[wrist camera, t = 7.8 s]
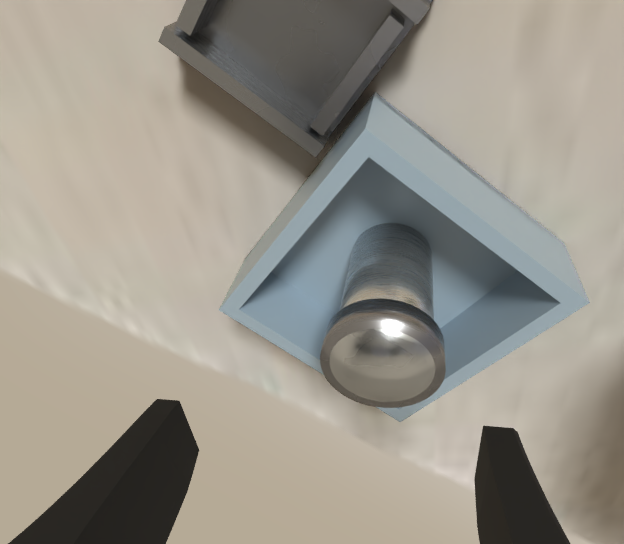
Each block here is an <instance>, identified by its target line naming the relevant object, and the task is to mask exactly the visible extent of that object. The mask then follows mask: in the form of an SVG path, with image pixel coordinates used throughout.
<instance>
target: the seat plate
mask: <svg viewBox="0 0 624 544" xmlns="http://www.w3.org/2000/svg"><path fill="white" fill-rule="evenodd" d="M432 1H433V0H186V2H185V4H184V7H183V9H182V11H181V13H180V16H179V18H178V20H177V22H175V23H172V24H170V25H168V26H166V27H164V30H163V32H162V34H161V37H160V39H159V41H158V42H160V43H161V44H162V45H164V46H165V47H167V48H168V49H169V50H171V51H172V52H173V53H175V54H176V55H177V56H179V57H180V58H181V59H183V60H184V61H185V62H187V63H188V64H190V65H191V66H192V67H194V68H195V69H196V70H198V71H199V72H200V73H202V74H203V75H204V76H206V77H207V78H208V79H210V80H211V81H213V82H214V83H215V84H217V85H218V86H219V87H221V88H222V89H223V90H225V91H226V92H227V93H229V94H230V95H232V96H233V97H234V98H236V99H237V100H238V101H240V102H241V103H242V104H244V105H245V106H246V107H248V108H249V109H250V110H252V111H253V112H255V113H256V114H257V115H259V116H260V117H261V118H263V119H264V120H265V121H267V122H268V123H269V124H271V125H272V126H274V127H275V128H276V129H278V130H279V131H280V132H282V133H283V134H284V135H286V136H287V137H288V138H290V139H291V140H292V141H294V142H295V143H297V144H298V145H299V146H301V147H302V148H303V149H305V150H306V151H307V152H309V153H310V154H311V155H313V156H314V157H315V158H316V157H317V155H318V154H319V153H320V151H321V150H322V149H323V147H324V146H325V144H326V141H327V139H328V137H329V136H330V135H331V133H332V132H333V131H334V129H335V128H336V127H337V125H338V124H339V123H340V122H341V120H342V119H343V118H344V116H345V115H346V114H347V112H348V111H349V110H350V108H351V107H352V106H353V104H354V103H355V102H356V101H357V99H358V98H359V97H360V95H361V94H362V93H363V91H364V90H365V89H366V87H367V86H368V85H369V83H370V82H371V81H372V79H373V78H374V77H375V76H376V74H377V73H378V72H379V70H380V69H381V68H382V66H383V65H384V64H385V62H386V61H387V60H388V58H389V57H390V56H391V55H392V53H393V52H394V51H395V49H396V48H397V47H398V45H399V44H400V43H401V41H402V40H403V39H404V37H405V36H406V35H407V34H408V32H409V31H410V30H411V28H412V27H413V26H414V24H416V25H418V23H419V22H420V21H421V19H422V18H423V17H424V15H425V14H426V13H427V11H428V10H429V9H430V3H431V2H432Z"/></svg>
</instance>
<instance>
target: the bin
mask: <svg viewBox="0 0 624 544" xmlns="http://www.w3.org/2000/svg"><path fill="white" fill-rule="evenodd" d="M383 223H399V224H403V225H407V226H409V227H412V228H414V229H415V230H417V231H418V232H420V233H421V234H422V235H423V236H424V237H425V238H426V240H427V241H428V243H429V245H430V247H431V251H432V268H433V305H434V321H435V322H436V323H437V325H438V326H439V328H440V330H441V332H442V334H443V338H444V346H445V366H446V372H445V377H444V380H443V382H442V384H441V386H440V387H439V389H438V390H437V391H436V392H435V393H434V394H433V395H431V396H430V397H429V398H427V399H425V400H423V401H421V402H419V403H416V404H414V405H410V406H405V407H399V408H381V407H376V408H378V409H380V410H381V411H383V412H385V413H386V414H388V415H389V416H391V417H393V418H394V419H396V420H398V421H399V422H401V421H403V420H404V419H406V418H408V417H409V416H411V415H412V414H414V413H416V412H417V411H419V410H420V409H422V408H423V407H425V406H427V405H428V404H430V403H431V402H433V401H435V400H436V399H438V398H439V397H441V396H442V395H444V394H446V393H447V392H449V391H450V390H452V389H454V388H455V387H457V386H458V385H460V384H461V383H463V382H465V381H466V380H468V379H469V378H471V377H473V376H474V375H476V374H477V373H479V372H480V371H482V370H484V369H485V368H487V367H488V366H490V365H492V364H493V363H495V362H496V361H498V360H499V359H501V358H503V357H504V356H506V355H507V354H509V353H511V352H512V351H514V350H515V349H517V348H519V347H520V346H522V345H523V344H525V343H526V342H528V341H530V340H531V339H533V338H534V337H536V336H538V335H539V334H541V333H542V332H544V331H545V330H547V329H549V328H550V327H552V326H553V325H555V324H557V323H558V322H560V321H561V320H563V319H564V318H566V317H568V316H569V315H571V314H572V313H574V312H576V311H577V310H579V309H580V308H582V307H583V306H585V305H587V304H588V303H590V302H589V300H588V297H587V295H586V293H585V290H584V288H583V286H582V283H581V281H580V279H579V276H578V274H577V272H576V269H575V267H574V265H573V262H572V260H571V258H570V255H569V253H568V251H567V248H566V246H565V244H564V243H563V242H562V241H561V240H559V239H558V238H557V237H556V236H554V235H553V234H552V233H551V232H549V231H548V230H547V229H546V228H544V227H543V226H542V225H541V224H539V223H538V222H537V221H536V220H534V219H533V218H532V217H531V216H529V215H528V214H527V213H526V212H524V211H523V210H522V209H521V208H519V207H518V206H517V205H516V204H514V203H513V202H512V201H511V200H509V199H508V198H507V197H506V196H505V195H503V194H502V193H501V192H500V191H498V190H497V189H496V188H495V187H493V186H492V185H491V184H490V183H488V182H487V181H486V180H485V179H483V178H482V177H481V176H480V175H478V174H477V173H476V172H475V171H473V170H472V169H471V168H470V167H468V166H467V165H466V164H465V163H463V162H462V161H461V160H460V159H458V158H457V157H456V156H455V155H453V154H452V153H451V152H450V151H448V150H447V149H446V148H445V147H443V146H442V145H441V144H440V143H438V142H437V141H436V140H435V139H433V138H432V137H431V136H430V135H428V134H427V133H426V132H425V131H423V130H422V129H421V128H420V127H419V126H417V125H416V124H415V123H414V122H412V121H411V120H410V119H409V118H407V117H406V116H405V115H404V114H402V113H401V112H400V111H399V110H397V109H396V108H395V107H394V106H392V105H391V104H390V103H389V102H387V101H386V100H385V99H384V98H382V97H381V96H380V95H379V94H377V93H376V92H375V93H374V94H373V95H372V96H371V98H370V99H369V100H368V102H367V103H366V104H365V105H364V107H363V108H362V109H361V111H360V112H359V113H358V114H357V116H356V117H355V118H354V120H353V121H352V122H351V123H350V125H349V126H348V127H347V129H346V130H345V131H344V132H343V134H342V135H341V136H340V138H339V139H338V140H337V141H336V143H335V144H334V145H333V147H332V148H331V149H330V150H329V152H328V153H327V154H326V156H325V157H324V158H323V159H322V161H321V162H320V163H319V165H318V166H317V167H316V168H315V170H314V171H313V172H312V174H311V175H310V176H309V177H308V179H307V180H306V181H305V183H304V184H303V185H302V186H301V188H300V189H299V190H298V192H297V193H296V194H295V195H294V197H293V198H292V199H291V200H290V202H289V203H288V204H287V206H286V207H285V208H284V209H283V211H282V212H281V213H280V215H279V216H278V217H277V218H276V220H275V221H274V222H273V224H272V225H271V226H270V227H269V229H268V230H267V231H266V233H265V234H264V235H263V236H262V238H261V239H260V240H259V242H258V243H257V244H256V245H255V247H254V248H253V249H252V251H251V252H250V253H249V254H248V256H247V257H246V258H245V260H244V262H243V264H242V266H241V268H240V270H239V271H238V273H237V275H236V277H235V279H234V281H233V283H232V285H231V287H230V289H229V291H228V293H227V295H226V297H225V299H224V301H223V303H222V305H221V306H220V308H219V310H220V311H221V312H223V313H225V314H226V315H228V316H229V317H231V318H233V319H234V320H236V321H237V322H239V323H241V324H242V325H244V326H246V327H247V328H249V329H250V330H252V331H254V332H255V333H257V334H259V335H260V336H262V337H263V338H265V339H267V340H268V341H270V342H271V343H273V344H275V345H276V346H278V347H280V348H281V349H283V350H284V351H286V352H288V353H289V354H291V355H292V356H294V357H296V358H297V359H299V360H301V361H302V362H304V363H305V364H307V365H309V366H310V367H312V368H313V369H315V370H317V371H318V372H320V373H322V374H323V372H322V369H321V365H320V354H321V350H322V345H323V341H324V337H325V332H326V329H327V326H328V324H329V322H330V320H331V319H332V317H333V316H334V315H335V314H336V313H337V312H338V311H340V306H341V301H342V297H343V292H344V287H345V282H346V278H347V273H348V268H349V263H350V259H351V254H352V249H353V246H354V243H355V241H356V240H357V238H358V237H359V236H360V235H361V234H362V233H363V232H364V231H365V230H367V229H369V228H371V227H373V226H375V225H378V224H383ZM323 375H324V374H323Z"/></svg>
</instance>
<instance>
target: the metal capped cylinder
mask: <svg viewBox="0 0 624 544" xmlns="http://www.w3.org/2000/svg"><path fill="white" fill-rule="evenodd" d="M320 365H321V369H322V372H323V374H324V376H325V378H326V379H327V381H328V382H329V383H330V384H331V385H332V386H333V387H334V388H335V389H336V390H337V391H338V392H340V393H341V394H343V395H344V396H346V397H348V398H350V399H352V400H354V401H356V402H359V403H362V404H365V405H369V406H374V407H381V408H399V407H405V406H410V405H414V404H416V403H419V402H421V401H423V400H425V399H427V398H429V397H430V396H431V395H433V394H434V393H435V392H436V391H437V390H438V389H439V387H440V386H441V384H442V382H443V380H444V377H445V372H446V366H445V346H444V338H443V334H442V332H441V330H440V328H439V326H438V325H437V323H436V322H435V321H434V305H433V268H432V251H431V247H430V245H429V243H428V241H427V240H426V238H425V237H424V236H423V235H422V234H421V233H420V232H418V231H417V230H415V229H414V228H412V227H409V226H407V225H403V224H399V223H383V224H378V225H375V226H373V227H371V228H369V229H367V230H365V231H364V232H363V233H362V234H361V235H360V236H359V237H358V238H357V240H356V241H355V243H354V246H353V249H352V254H351V259H350V263H349V268H348V273H347V278H346V282H345V287H344V292H343V297H342V301H341V306H340V311H338V312H337V313H336V314H335V315H334V316H333V317H332V319H331V320H330V322H329V324H328V326H327V329H326V332H325V337H324V341H323V345H322V350H321V354H320Z"/></svg>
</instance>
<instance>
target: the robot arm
mask: <svg viewBox="0 0 624 544" xmlns="http://www.w3.org/2000/svg"><path fill="white" fill-rule="evenodd" d="M198 452H199V449H198V446H197V444H196V441H195V439H194V436H193V434H192V431H191V429H190V426H189V424H188V421H187V419H186V416H185V414H184V411H183V409H182V406H181V404H180V402H179V401H175V400H162V399H157V400H156V401H155V402H154V403H153V404H152V405H151V406H150V407H149V408H148V409H147V410H146V411H145V412H144V413H143V414H142V415H141V416H140V417H139V418H138V419H137V420H136V421H135V422H134V423H133V425H132V426H131V427H130V428H129V429H128V430H127V431H126V432H125V433H124V434H123V435H122V436H121V437H120V438H119V439H118V440H117V441H116V442H115V443H114V445H113V446H112V447H111V448H110V449H109V450H108V451H107V452H106V453H105V454H104V455H103V456H102V457H101V458H100V459H99V460H98V461H97V462H96V463H95V464H94V465H93V466H92V467H91V468H90V469H89V470H88V471H87V472H86V473H85V474H84V475H83V476H82V477H81V478H80V479H79V480H78V481H77V482H76V483H75V484H74V485H73V486H72V487H71V488H70V489H69V490H68V491H67V492H65V494H63V496H61V497H60V498H59V499H58V500H57V501H56V502H55V503H54V504H53V505H52V506H51V507H50V508H49V509H47V510H46V511H45V512H44V513H43V514H42V515H41V516H40V517H39V518H38V519H36V520H35V521H34V522H33V523H32V524H31V525H30V526H29V527H27V528H26V529H25V530H24V531H23V532H22V533H20V534H19V535H18V536H17V537H16V538H14V539H13V540H12V541H11V542H10V543H8V544H166V541H167V539H168V537H169V534H170V532H171V530H172V527H173V525H174V522H175V520H176V517H177V515H178V513H179V510H180V508H181V505H182V503H183V501H184V498H185V495H186V493H187V490H188V487H189V484H190V481H191V477H192V474H193V470H194V467H195V463H196V459H197V456H198ZM475 495H476V511H477V527H478V534H479V540H480V544H570V542H569V540H568V539H567V537H566V535H565V533H564V531H563V529H562V527H561V525H560V524H559V522H558V520H557V518H556V516H555V514H554V512H553V510H552V508H551V506H550V504H549V502H548V501H547V499H546V497H545V494H544V492H543V490H542V488H541V486H540V484H539V482H538V480H537V478H536V476H535V473H534V471H533V469H532V467H531V465H530V462H529V460H528V458H527V455H526V453H525V450H524V448H523V445H522V443H521V440H520V438H519V435H518V432H517V431H516V430H514V429H513V428H503V427H491V426H483V430H482V436H481V443H480V449H479V455H478V461H477V467H476V473H475Z"/></svg>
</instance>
